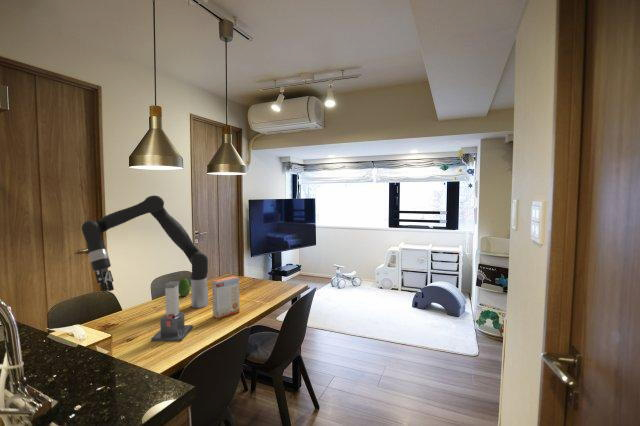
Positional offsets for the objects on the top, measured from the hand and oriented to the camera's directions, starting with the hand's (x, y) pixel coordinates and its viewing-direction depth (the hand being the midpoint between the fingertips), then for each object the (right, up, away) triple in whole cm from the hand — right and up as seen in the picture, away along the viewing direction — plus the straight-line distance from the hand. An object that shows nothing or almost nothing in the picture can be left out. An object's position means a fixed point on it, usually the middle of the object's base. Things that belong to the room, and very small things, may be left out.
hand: (108, 290), depth 151 cm
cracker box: (+51, -20, +24) cm, 60 cm away
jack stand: (+33, -21, -1) cm, 39 cm away
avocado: (+12, -18, +56) cm, 60 cm away
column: (+33, -19, -1) cm, 38 cm away
